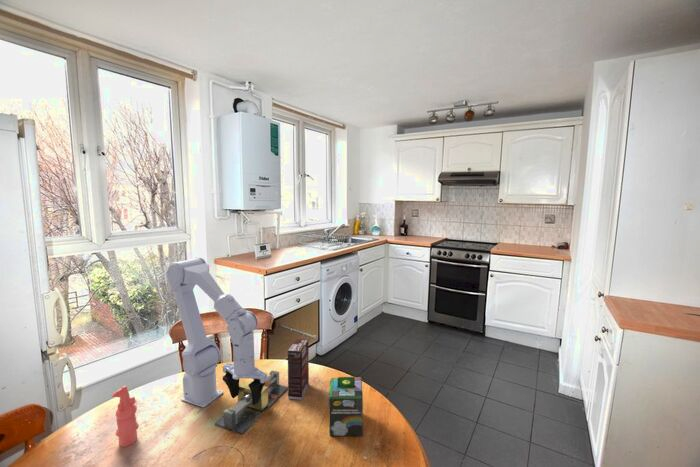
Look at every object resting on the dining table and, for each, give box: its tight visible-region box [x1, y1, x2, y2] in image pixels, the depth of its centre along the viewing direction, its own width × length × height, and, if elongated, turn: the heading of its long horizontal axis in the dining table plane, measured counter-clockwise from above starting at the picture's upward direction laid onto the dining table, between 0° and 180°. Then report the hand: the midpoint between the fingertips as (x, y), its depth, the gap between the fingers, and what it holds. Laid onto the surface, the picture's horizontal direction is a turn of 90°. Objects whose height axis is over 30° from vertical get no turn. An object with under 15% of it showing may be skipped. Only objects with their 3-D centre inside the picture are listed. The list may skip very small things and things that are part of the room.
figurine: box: [111, 385, 140, 448], centre depth 81 cm, size 5×5×15 cm
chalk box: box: [328, 376, 364, 437], centre depth 87 cm, size 9×9×15 cm
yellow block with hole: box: [237, 380, 268, 411], centre depth 95 cm, size 3×9×6 cm, turn 68°
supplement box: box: [287, 338, 310, 401], centre depth 102 cm, size 9×5×16 cm, turn 173°
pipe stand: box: [214, 370, 288, 435], centre depth 96 cm, size 22×10×5 cm, turn 158°
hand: (245, 399), depth 92 cm, fingers open, 7 cm apart
